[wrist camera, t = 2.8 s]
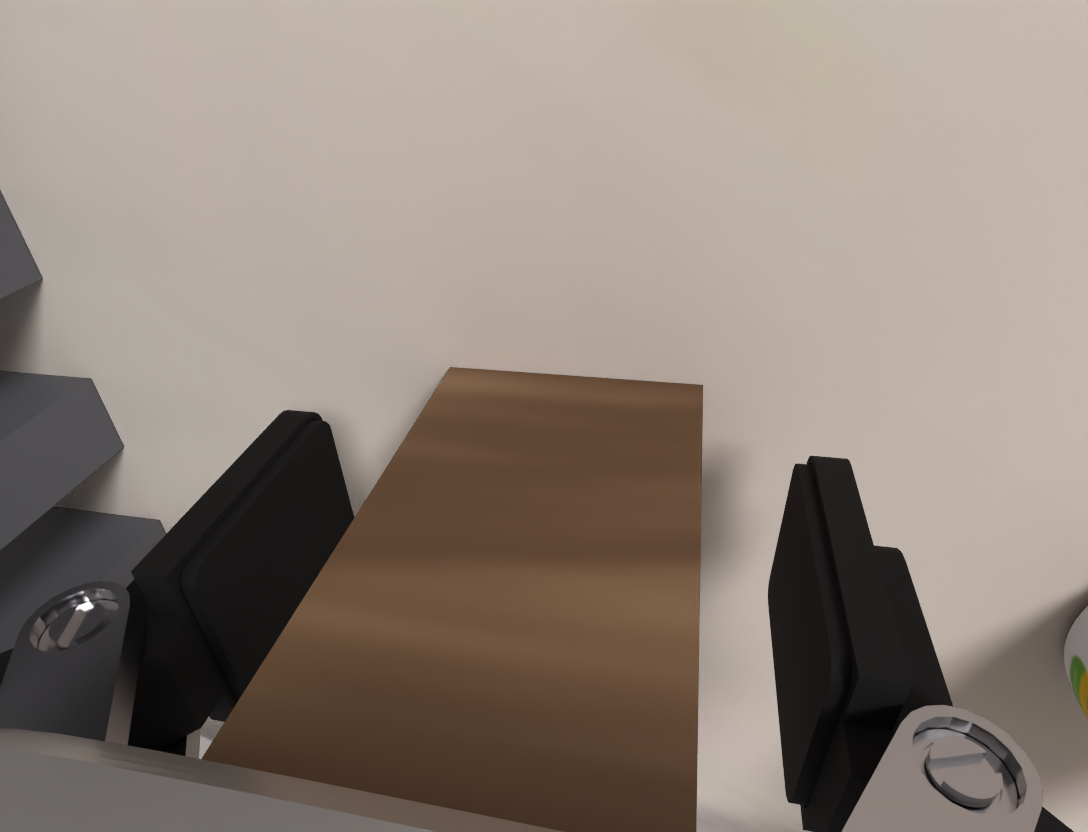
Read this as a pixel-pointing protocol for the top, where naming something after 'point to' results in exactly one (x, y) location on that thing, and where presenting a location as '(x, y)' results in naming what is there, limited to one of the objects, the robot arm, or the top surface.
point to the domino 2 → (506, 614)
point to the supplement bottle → (1078, 658)
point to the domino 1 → (14, 256)
